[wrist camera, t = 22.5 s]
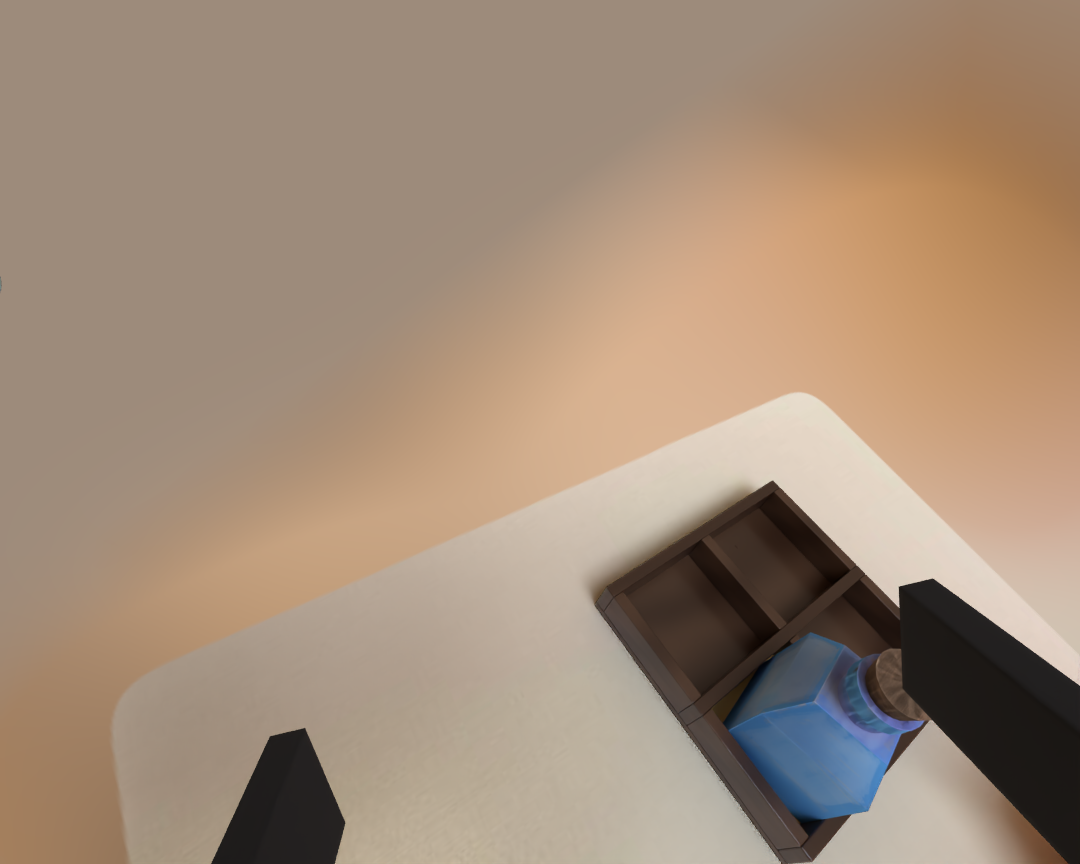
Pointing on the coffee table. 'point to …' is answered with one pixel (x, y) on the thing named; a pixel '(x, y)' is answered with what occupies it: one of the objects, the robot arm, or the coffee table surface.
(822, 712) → the perfume bottle
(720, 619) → the wooden compartment tray
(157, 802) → the coffee table surface
